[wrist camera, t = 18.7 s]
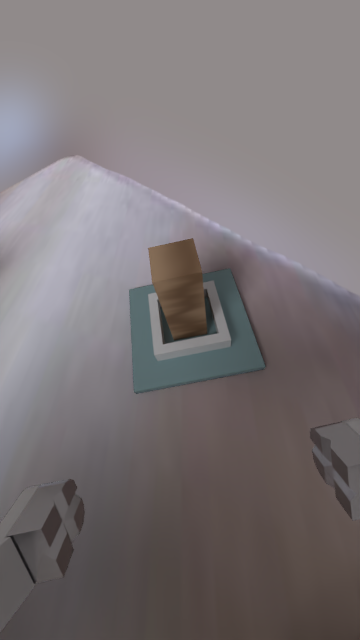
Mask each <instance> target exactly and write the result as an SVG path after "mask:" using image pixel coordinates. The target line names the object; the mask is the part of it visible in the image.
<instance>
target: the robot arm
mask: <svg viewBox="0 0 360 640" xmlns="http://www.w3.org/2000/svg"><path fill="white" fill-rule="evenodd" d="M310 438H311V440H312V441H313V443H314V444H315V446H314V448H313V449H312V453H313V459H314V462H315V465H316V467H317V469H318V471H319V473H320V475H321V477H322V478H323V480H324V481H325V483H326V484H328V485H330V486H331V487H333V488H335V494H336V498H337V500H338V501H339V503H340V504H341V505H342V507H343V508H344V510H345V511H346V512H347V514H348V515H349V517H350V518H351V519H352V521H353V520H360V419H359V418H353V419H349V420H345V421H341V422H337V423H332V424H328V425H323V426H319V427H314V428H311V429H310ZM76 489H77V486H76V484H75V482H74V480H71V479H68V480H62V481H57V482H51V483H46V484H42V485H37V486H31V487H28V488H26V489H25V490H23V492H22V493H21V494H20V496H19V497H18V499H17V500H16V502H15V503H14V504H13V506H12V507H11V509H10V510H9V512H8V513H7V515H6V516H5V517H4V519H3V520H2V522H1V523H0V632H1V631H2V630H3V628H4V627H5V626H6V624H7V623H8V622H9V620H10V619H11V618H12V616H13V615H14V614H15V612H16V611H17V610H18V608H19V607H20V606H21V604H22V603H23V602H24V600H25V599H26V598H27V596H28V595H29V594H30V592H31V591H32V590H33V588H34V587H35V585H34V584H37V583H42V582H46V581H50V580H54V579H59V578H63V577H64V575H65V572H66V569H67V567H68V564H69V561H70V558H71V556H72V553H73V550H74V549H73V545H72V542H73V541H74V539H75V538H76V537H77V536H78V535H79V534H80V531H81V528H82V525H83V521H84V513H85V511H84V504H83V501H82V499H81V498H80V497H79V496H77V495H76V494H75V492H76Z"/></svg>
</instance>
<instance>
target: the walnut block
mask: <svg viewBox="0 0 360 640" xmlns="http://www.w3.org/2000/svg"><path fill="white" fill-rule="evenodd" d="M148 250H149V258H150V267H151V276H152V283H153V286H154V288H155V291H156V294H157V296H158V299H159V302H160V304H161V307H162V310H163V312H164V315H165V318H166V320H167V323H168V326H169V328H170V331H171V334H172V336H173V339H174V340H179V339H184V338H189V337H194V336H199V335H204V334H207V323H206V311H205V300H204V288H203V276H202V270H201V266H200V262H199V259H198V255H197V251H196V248H195V244H194V240H193V238H192V239H187V240H183V241H178V242H174V243H169V244H165V245H160V246H155V247H151V248H148Z"/></svg>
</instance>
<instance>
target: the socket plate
mask: <svg viewBox="0 0 360 640" xmlns="http://www.w3.org/2000/svg"><path fill="white" fill-rule="evenodd" d="M202 276H203V288H204V300H205V311H206V323H207V334H204V335H199V336H194V337H189V338H184V339H179V340H174V339H173V336H172V334H171V331H170V328H169V326H168V323H167V320H166V318H165V315H164V312H163V310H162V307H161V304H160V302H159V299H158V296H157V294H156V291H155V288H154V286H153V285H149V286H144V287H140V288H135V289H130V290H129V296H130V318H131V340H132V362H133V383H134V392H135V393H136V394H138V393H143V392H148V391H153V390H159V389H164V388H169V387H174V386H180V385H185V384H190V383H195V382H200V381H206V380H211V379H216V378H221V377H226V376H232V375H237V374H242V373H247V372H252V371H258V370H263V369H264V368H265V367H266V366H265V364H264V361H263V358H262V355H261V353H260V350H259V347H258V344H257V341H256V339H255V336H254V333H253V330H252V328H251V325H250V322H249V319H248V317H247V314H246V311H245V308H244V305H243V303H242V300H241V297H240V294H239V292H238V289H237V286H236V283H235V281H234V278H233V275H232V272H231V269H230V268H229V269H225V270H220V271H215V272H210V273H206V274H202Z"/></svg>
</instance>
